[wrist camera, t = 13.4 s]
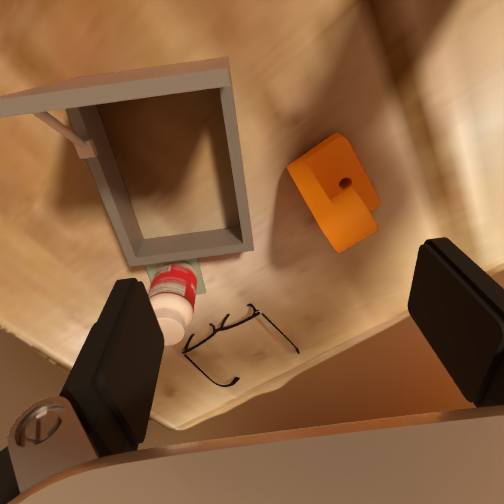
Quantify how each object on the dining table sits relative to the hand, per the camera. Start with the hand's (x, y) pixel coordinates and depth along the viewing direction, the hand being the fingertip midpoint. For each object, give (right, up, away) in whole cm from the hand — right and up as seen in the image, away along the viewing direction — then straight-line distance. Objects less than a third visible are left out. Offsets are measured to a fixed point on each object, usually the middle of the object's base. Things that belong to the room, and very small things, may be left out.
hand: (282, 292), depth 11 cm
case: (-10, +11, +28) cm, 32 cm away
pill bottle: (-12, -2, +36) cm, 38 cm away
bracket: (+9, +11, +30) cm, 33 cm away
